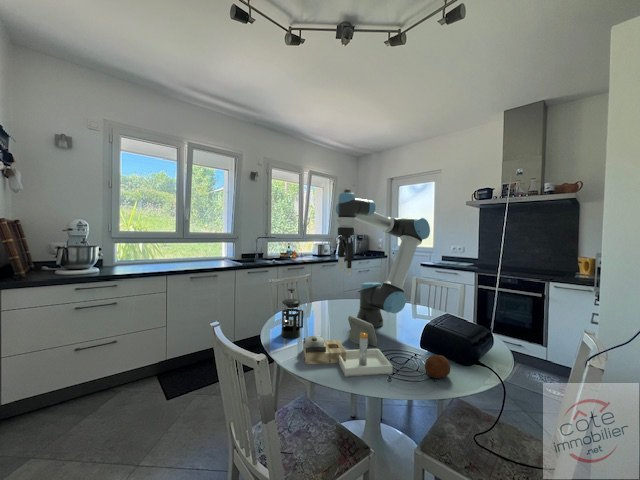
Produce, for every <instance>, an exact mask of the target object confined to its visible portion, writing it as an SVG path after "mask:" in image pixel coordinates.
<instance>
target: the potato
mask: <svg viewBox="0 0 640 480" xmlns="http://www.w3.org/2000/svg"><path fill="white" fill-rule="evenodd" d="M424 369H425V372H426V373H427V375H428V376H429V377H431V378H433V379H441V378H445V377H447V376H448V375H450V373H451V366H450V362H449V360H448V359H447V358H446V357H445V356H444V355H441V354H434V355H431V356H429V357H427V359H426V360H425V364H424Z"/></svg>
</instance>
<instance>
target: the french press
mask: <svg viewBox="0 0 640 480" xmlns="http://www.w3.org/2000/svg"><path fill="white" fill-rule="evenodd" d="M287 291H288V292H290V294H291V295H290V298H288V299H284V300H282V301H281V302H282V304H283V305H285V306H286V307H287V308H285V309H282V310H281V334H280V336H281V338H282V339H286V340H295V339H298V338H300V337H301V331H300V330H301V329H303V328H304V309H298V308H299V307H300V304H301V300H299V299H297V298H296V299H295V298H293V292H295V291H297V289H296V288H288V289H287ZM292 312H296V313H292ZM290 318H292V319H290Z"/></svg>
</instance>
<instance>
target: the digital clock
mask: <svg viewBox="0 0 640 480" xmlns="http://www.w3.org/2000/svg"><path fill="white" fill-rule="evenodd" d="M356 317H357V316H356ZM356 317H355V316H354V315H349V316H348V318H347V320H348V323H349V324H348V325H349V327H350V330H349V337H348V338H349V339H348V340H349V341H351V342H353V343H355V344H356V345H358V346H360V333H361V332H366V333H368V342H367V346H368V345H370V346H374V347H377V346H378V339H377V335H376V331H375V327H374V326H373V325H372V324H370V323H368V322H366V321H363V320H361V319H359V318H356Z"/></svg>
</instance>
